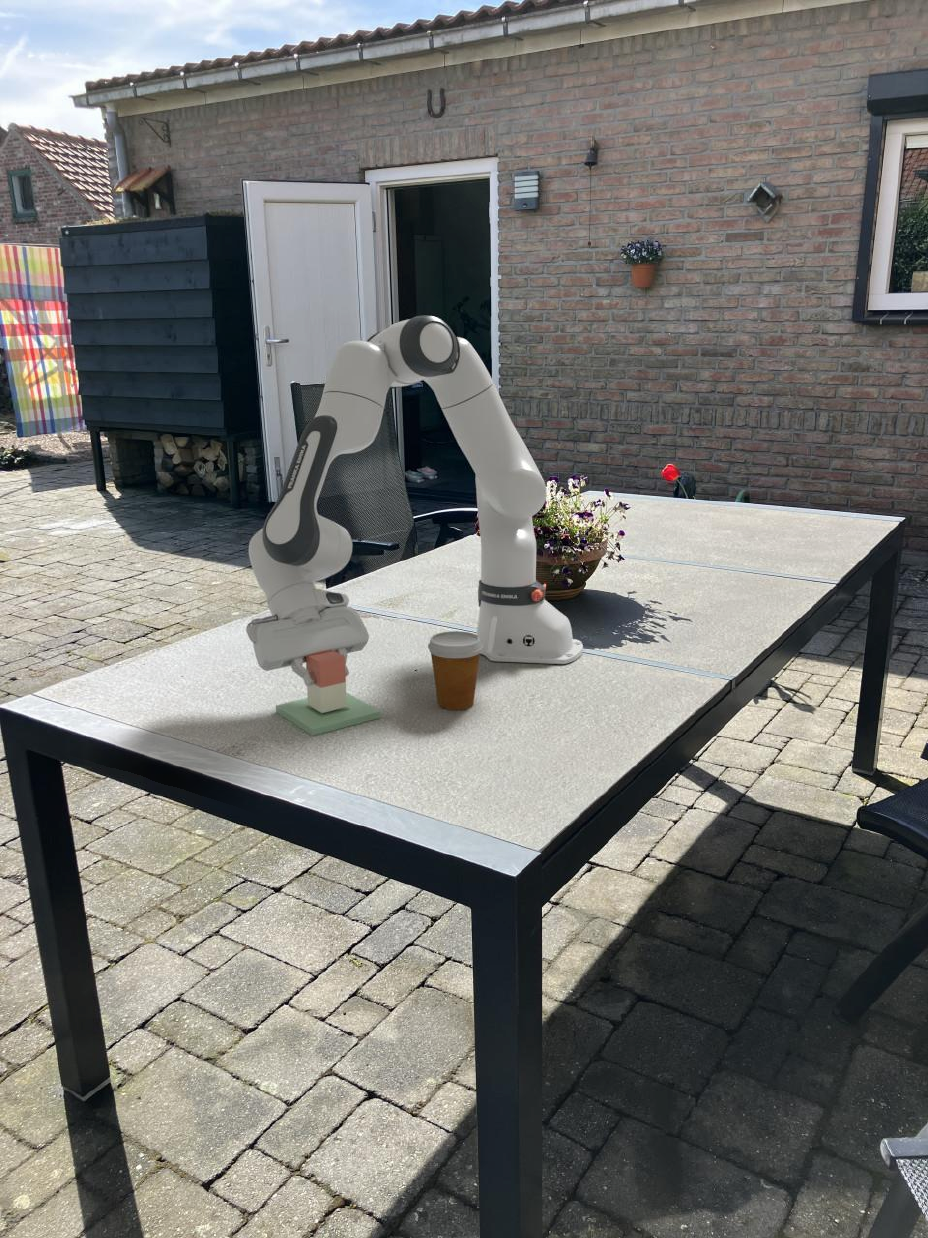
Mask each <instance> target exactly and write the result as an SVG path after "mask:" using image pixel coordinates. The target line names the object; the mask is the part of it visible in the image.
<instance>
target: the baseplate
mask: <svg viewBox="0 0 928 1238" xmlns="http://www.w3.org/2000/svg"><path fill="white" fill-rule="evenodd" d="M346 701H347V707H344V708H340V709H336V710H332V711H328V712H324V713H321V712H319V711H317V710H316V709H314V708H313V707H311V706H309V705H308V697H306V698H301V699H297V700H292V701H289V702H284V703H280V704H276V705H275V713H277V714H279V715H280V716H281V717H283V718H285V719H286V720H287V721H289V722H290V723H292V724H294V725H295V726H297V727H298V728H299V729H302V730H303V731H304V732H306V733H307V734H309V735H310V736H312V737H314V736H317V735H318V736H319V735H321V734H326V733H328V732H332V731H333V732H334V731H336V730H337V731H338V730H340V729H344V728H348V727H351V726H352V727H353V726H355V725H358V724H362V723H366V722H367V723H368V722H371V721H373V720H378V719H381V711H380V710H379V709H377V708H375V707H373V706H371V705H369V704H368V703H366V702H364V701H362V700H360V699H359V698H357V697H355V696H354V695H351V694H350V693H348V692H346Z"/></svg>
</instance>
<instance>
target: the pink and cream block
mask: <svg viewBox="0 0 928 1238" xmlns="http://www.w3.org/2000/svg"><path fill="white" fill-rule="evenodd" d="M305 665H306V666H305V669H307V670H308V671H309V672H312V671H313V672H314V674H315V677H316V679H317V681H316V682H315V684H313V685H309V686H306V687H307V688H306V690H307V698H308V705H309V706H311V707H313V708H314V709H316V710H317V711H319V712H321V713H324V712H328V711H332V710H336V709H340V708H344V707H347V701H346V693H347V679H346V678H347V677H346V672H345V656H343V655H341V654H339V653H337V652H335V651H333V650H332V651H327V652H322V653H318V654H313V655H309V656H306V663H305Z"/></svg>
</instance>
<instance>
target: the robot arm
mask: <svg viewBox="0 0 928 1238" xmlns="http://www.w3.org/2000/svg"><path fill="white" fill-rule="evenodd" d="M421 381H424V382H425V383H426V384H428V386H429V387H430V388H431V390H432V391H433V392H434V395H435V397H436V400H437V402H438V404H439V406H440V408H441V411H442V413H443V416H444V417H445V419H446V421H447V423H448V425H449V428H450V430H451V432H452V434H453V436H454V438H455V440H456V442H457V444H458V446H459V447H460V449H461V451H462V453H463V455H464V456H465V458H466V459H467V461H468V463H469V465H470V466H471V468H472V470H473V472H474V473H475V488H476V489H475V490H476V491H475V492H476V505H477V518H478V519H477V520H478V525H479V535H480V579H479V580H478V586H477V587H478V588H477V601H478V607H479V613H478V614H479V615H478V621H477V628H476V633H475V634H476V635H478V636H479V637H480V640H481V643H482V644H483V648H482V649H481V652H480V655H483V656H485V657H486V658H487V659H488V660H489V661H492V662H502V663H504V662H505V663H526V664H527V663H529V664H549V665H553V664H554V665H555V664H556V665H565V664H569V663H573V662H575V661H576V660H578V659H579V657H581V655H582V654H583V651H584V645H583V642H582V641H581V640H579V639H576V638H573V631H572V626H571V625H572V624H571V622H570V620H569V618H568V617H567V616H566V615H565V614H563V613H562V612H560V611H559V610H558V609H557V608H556V607H554V605H552V604H551V603H550V602H548V600H546V589H547V588H546V587H547V584H546V583H544V584H542V583H540V582H539V581H538V580H537V579H536V577H537V575H536V574H537V573H536V572H537V539H536V536H535V530H534V524H533V523H534V522H533V516H535V515H537V514H538V513H539V511H540V510H541V509H542V508H543V507H544V504H545V503H546V498H547V494H548V493H547V487H546V483H545V480H544V478H543V476H542V474H541V472H540V470H539V467H538V466H537V464H536V463H535V461H534V459H533V457H532V454H531V453H530V451H529V449H528V448H527V446H526V444H525V442H524V440H523V439H522V437H521V435H520V433H519V432H518V430H517V427H516V426H515V425H514V423H513V421H512V419H511V417H510V415H509V412H508V411H507V409H506V406H505V405H504V402H503V400H502V398H501V396H500V393H499V391H498V390H497V387H496V384H495V383H494V380H493V379H492V376H491V375H490V372H489V370H488V369H487V367H486V365H485V364H484V362H483V360H482V358H481V357H480V355H479V354H478V352H477V351H476V350H475V348H474V347H473V345H472V344H471V343H470V342H469V341H468V340H467V339H465V338H463V337H460V336H456V335H455V333H454V332H453V330H452V328H451V327H450V326H449V325H448V324H447V323H446V322H445V321H444V320H442V319H441V318H439V317H436V316H433V315H417V316H414V317H412V318H409V319H405V320H401V321H398V322H396V323H393V324H391V325H390V326H389V327H387V328H385V329H383V330H382V331H378V332H375V333H374V334H373V335H371V336H369V338H368V339H367V340H350V341H347V342H346V343H344V344H343V345H341V346H340V347H339V348H338V351H337V352H336V354H335V357H334V359H333V361H332V363H331V365H330V368H329V371H328V375H327V377H326V380H325V383H324V388H323V390H322V395H321V399H320V402H319V406H318V409H317V411H316V413H315V416H314V417H313V418H312V419H311V420H310V421H309V422H308V423H307V424H306V425H305V427H304V429H303V431H302V434H301V436H300V438H299V439H298V440H299V441H298V442H297V446H296V448H295V451H294V454H293V456H292V460H291V463H290V465H289V467H288V468H289V469H287V474H286V477H285V480H284V481H283V485H282V487H281V491H280V493H279V496H278V498H277V499H276V501H275V503H274V505H273V507H272V508H271V510H270V512H269V513H268V514H267V516H266V518H265V521H264V524H263V527H262V528H261V529H260V530H258V531H257V532H256V533H255V534H254V535H253V536H252V537H251V539H250V540H249V543H248V544H249V545H248V557H249V561H250V565H251V567H252V571H253V575H254V576H255V578H256V581H257V584H258V586H259V588H260V589H261V590H262V592H264V594H265V597H266V604H267V607H268V610H269V612H270V615H268V616H265V617H261V618H254V619H252V620H251V621H250V622H249V623H248V624H247V625H246V628H245V629H246V634H247V635H248V639H249V640H250V641H251V642H252V646H253V650H254V654H255V658H256V661H257V664H258V666H259V668H261V669H262V670H264V671H265V672H269V671H274V670H278V669H281V668H288V667H291V670H292V672H294V673H295V674H296V675H297V676H299V677H300V678H302V679H303V682H304V684H305V685H304V686H306V687H307V686H309V685H313V684H315V682H316V681H317V679H316V677H315V674H314V672H313V671H312V672H309V671H308V670H307V669H306V667H304V665H303V664H306V656H309V655H313V654H318V653H322V652H327V651H332V650H333V651H335V652H337V653H339V654H341V655H343V656H345V672H346V678H347V677H348V676H349V674H350V671H349V669H348V666H347V661H348V659H347V658H348V654H350V653H354V652H360V651H362V650H364V648H365V647H366V645H367V644H368V642H369V638H370V635H369V632H368V629H367V627H366V625H365V624H364V622H363V620H362V618H361V616H360V615H359V613H358V612H357V610H355V608H353V607H352V606H349V603H350V599H349V596H348V595H347V594H346V593H344V592H339V591H330V590H325V589H319V588H316V585H315V584H316V583H317V582H320V581H325V580H326V579H327V578H330V577H332V576H335V575H336V574H337V573H340V572H341V571H343V570H344V569H345V568H346V567H347V566H348V564H349V563H350V561H351V559H352V554H353V549H354V545H353V539H352V536H351V534H350V533H349V531H348V529H347V528H345V527H344V526H342V525H340V524H338V523H336V521H333V520H331V519H329V518H326V517H324V516H322V515H321V514H319V513H318V509H317V504H318V499H319V496H320V494H321V491H322V488H323V485H324V483H325V480H326V476H327V473H328V469H329V467H330V465H331V464H332V463H333V460H334V459H335V458H337V457H338V456H339V455H345V454H346V455H347V454H354V453H358V452H361V451H363V450H365V449H366V448H368V447H369V446H370V445H371V444H373V443H374V441H375V439H376V437H377V435H378V433H379V430H380V428H381V423H382V418H383V415H384V410H385V407H386V406H385V405H386V399H387V394H388V391H389V390H392V389H397V388H400V387H407V386H411V385H416V384H418V383H420V382H421Z"/></svg>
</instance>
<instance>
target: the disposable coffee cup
mask: <svg viewBox="0 0 928 1238" xmlns="http://www.w3.org/2000/svg"><path fill="white" fill-rule="evenodd" d="M429 640H430V641H429V643H428V645H427V649H428V650H429V653H430V658H431V664H432V670H433V671H432V672H433V677H434V684H435V685H434V687H435V691H436V698H437V699H436V700H437V705H438V707H440V708H442V709H445V710H452V711H458V710H465V709H469V708H471V707H472V706H473V705H474V703H475V702H474V701H475V693H476V686H477V680H478V679H477V678H478V671H479V663H480V657H481V654H480V652H481V649H482V648H483V644H482V643H481V640H480V637H479V636H478V635H476V633H472V632H467V631H459V630H458V631H444V632H443V631H442V632H439V633H435V634H434V635H432V636H431V637H430V639H429Z"/></svg>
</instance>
